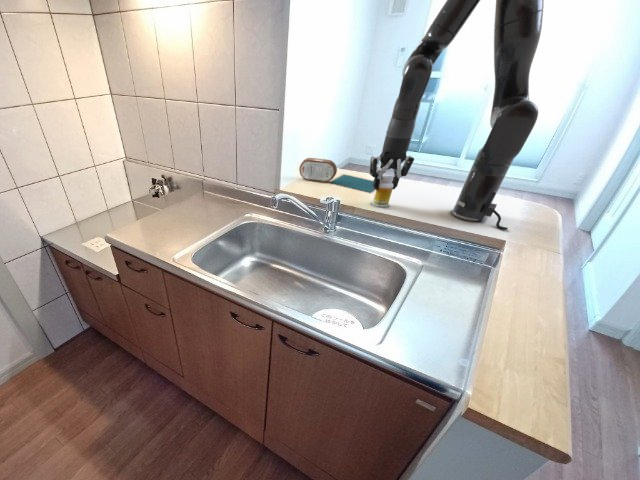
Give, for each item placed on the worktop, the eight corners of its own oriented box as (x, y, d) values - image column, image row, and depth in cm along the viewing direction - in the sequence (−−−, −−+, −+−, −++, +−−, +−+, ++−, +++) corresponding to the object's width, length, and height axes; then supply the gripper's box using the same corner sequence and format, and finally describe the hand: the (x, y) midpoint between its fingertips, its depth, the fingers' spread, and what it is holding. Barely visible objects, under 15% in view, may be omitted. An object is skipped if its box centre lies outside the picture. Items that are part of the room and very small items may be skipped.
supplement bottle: (390, 207, 112) (398, 178, 106) (374, 207, 112) (382, 178, 106) (384, 201, 116) (392, 173, 110) (369, 201, 116) (376, 173, 110)
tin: (335, 181, 133) (338, 160, 128) (333, 183, 131) (337, 162, 125) (299, 177, 138) (301, 156, 133) (297, 179, 136) (299, 158, 130)
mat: (382, 183, 132) (382, 183, 131) (369, 192, 124) (369, 191, 124) (344, 175, 140) (344, 174, 140) (329, 182, 132) (329, 182, 132)
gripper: (381, 137, 97) (368, 193, 107) (427, 136, 98) (409, 192, 108) (371, 132, 103) (359, 185, 113) (415, 131, 104) (399, 184, 114)
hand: (384, 188), depth 111 cm, fingers closed on supplement bottle, 5 cm apart
